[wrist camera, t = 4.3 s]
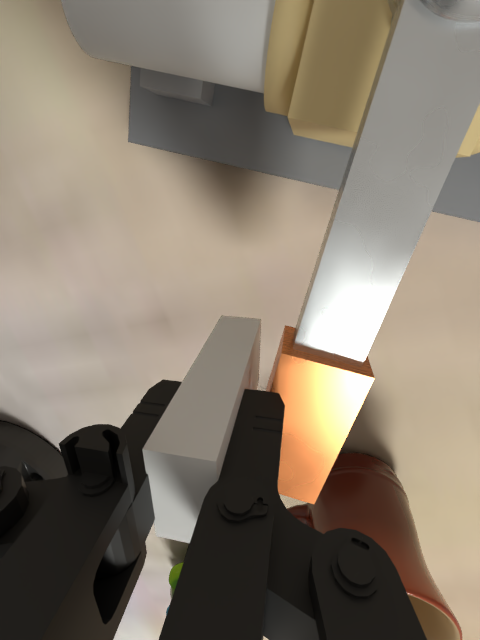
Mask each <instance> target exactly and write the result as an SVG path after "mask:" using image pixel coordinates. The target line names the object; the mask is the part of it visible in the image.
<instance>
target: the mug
mask: <svg viewBox="0 0 480 640" xmlns="http://www.w3.org/2000/svg"><path fill="white" fill-rule="evenodd" d="M287 510H288V511H289V512H290V513H291V514H292V515H293V516H294V517H295V518H297V519H298V520H300V521H301V522H303V523H304V524H306V525H308V526H310V527H312V528H313V529H315V530H317V531H319V532H321V533H323V534H324V533H326V532H327V531H330V530H333V529H337V528H346V529H353V530H357V531H359V532H361V533H363V534H365V535H367V536H369V537H371V538H372V539H373V540H374V541H375V542H376V543H378V544H379V545H380V546H381V547H382V548H383V549H384V550H385V551H386V552H387V554H388V556H389V557H390V559H391V561H392V562H393V564H394V565H395V567H396V569H397V571H398V573H399V576H400V578H401V580H402V583H403V585H404V587H405V590H406V592H407V594H408V596H409V599H410V601H411V603H412V606H413V608H414V610H415V613H416V615H417V617H418V620H419V622H420V624H421V626H422V629H423V631H424V633H425V636H426V638H427V640H462V631H461V627H460V625H459V623H458V621H457V619H456V617H455V616H454V614H453V612H452V611H451V609H450V608H449V606H448V604H447V603H446V601H445V599H444V598H443V596H442V594H441V593H440V591H439V589H438V587H437V586H436V584H435V582H434V580H433V578H432V576H431V574H430V572H429V570H428V568H427V565H426V563H425V560H424V557H423V554H422V551H421V547H420V543H419V539H418V535H417V531H416V527H415V524H414V520H413V517H412V514H411V510H410V507H409V501H408V498H407V495H406V493H405V492H404V490H403V487H402V484H401V482H400V481H399V479H398V478H397V476H396V474H395V473H394V471H393V470H392V469H391V468H390V467H389V466H388V465H387V464H386V463H384V462H383V461H381V460H379V459H377V458H375V457H373V456H370V455H366V454H362V453H340V454H338V456H337V458H336V460H335V462H334V464H333V466H332V468H331V471H330V473H329V475H328V477H327V479H326V481H325V483H324V485H323V487H322V489H321V491H320V494H319V496H318V498H317V500H316V502H315V504H311V503H308V502H307V503H306V504H303V505H296V506H293V507H290V508H288V509H287Z"/></svg>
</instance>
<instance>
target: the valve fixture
mask: <svg viewBox="0 0 480 640" xmlns="http://www.w3.org/2000/svg"><path fill="white" fill-rule="evenodd" d="M61 2H62V6H63V10H64V13H65V16H66V19H67V22H68V25H69V27H70V29H71V31H72V34H73V36H74V37H75V39H76V41H77V42H78V44H79V45H80V47H81V48H82V49H83V50H84V51H85V52H86V53H87V54H88V55H89V56H91V57H93V58H97V59H101V60H106V61H111V62H116V63H121V64H125V65H130V66H131V87H130V112H129V137H128V142H131V143H135V144H140V145H144V146H148V147H153V148H157V149H162V150H166V151H170V152H175V153H179V154H183V155H188V156H192V157H197V158H201V159H205V160H210V161H214V162H218V163H223V164H227V165H232V166H236V167H240V168H245V169H249V170H254V171H258V172H262V173H267V174H271V175H275V176H280V177H284V178H289V179H293V180H297V181H302V182H306V183H310V184H315V185H319V186H324V187H328V188H332V189H337V190H339V189H340V185H341V182H342V179H343V176H344V173H345V170H346V166H347V163H348V160H349V157H350V154H351V151H352V147H353V144H354V141H355V138H356V135H357V132H358V128H359V125H360V122H361V119H362V116H363V113H364V109H365V106H366V103H367V100H368V97H369V94H370V90H371V87H372V84H373V81H374V78H375V75H376V71H377V68H378V65H379V62H380V59H381V56H382V52H383V49H384V46H385V43H386V40H387V37H388V33H389V30H390V27H391V24H392V21H393V18H394V17H393V14H392V12H391V10H390V7H389V4H388V0H61ZM432 211H433V212H437V213H442V214H446V215H450V216H455V217H459V218H464V219H468V220H472V221H477V222H480V104H479V106H478V108H477V111H476V113H475V115H474V117H473V120H472V122H471V124H470V126H469V128H468V131H467V133H466V135H465V137H464V140H463V142H462V144H461V146H460V149H459V151H458V153H457V155H456V157H455V160H454V162H453V164H452V166H451V169H450V171H449V173H448V175H447V178H446V180H445V182H444V184H443V187H442V189H441V191H440V193H439V195H438V198H437V200H436V202H435V204H434V207H433V209H432Z"/></svg>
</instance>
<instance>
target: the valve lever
mask: <svg viewBox="0 0 480 640" xmlns="http://www.w3.org/2000/svg"><path fill="white" fill-rule="evenodd" d="M388 4H389V7H390V10H391V12H392V14H393V17H394V18H393V21H392V24H391V27H390V30H389V33H388V37H387V40H386V43H385V46H384V49H383V52H382V56H381V59H380V62H379V65H378V68H377V71H376V75H375V78H374V81H373V84H372V87H371V90H370V94H369V97H368V100H367V103H366V106H365V109H364V113H363V116H362V119H361V122H360V125H359V128H358V132H357V135H356V138H355V141H354V144H353V147H352V151H351V154H350V157H349V160H348V163H347V166H346V170H345V173H344V176H343V179H342V182H341V185H340V189H339V192H338V195H337V198H336V201H335V204H334V208H333V211H332V214H331V217H330V220H329V223H328V227H327V230H326V233H325V236H324V239H323V242H322V246H321V249H320V252H319V255H318V258H317V261H316V265H315V268H314V271H313V274H312V277H311V280H310V284H309V287H308V290H307V293H306V296H305V299H304V303H303V306H302V309H301V312H300V315H299V318H298V322H297V325H296V328H293V327H289V326H285V328H284V331H283V335H282V338H281V341H280V345H279V348H278V351H277V355H276V358H275V362H274V365H273V368H272V372H271V375H270V378H269V382H268V385H267V388H266V391H268V392H276V393H279V394H280V396H281V398H282V400H283V402H284V405H285V411H284V423H283V435H282V447H281V457H280V467H279V478H278V492H279V494H282V495H285V496H288V497H292V498H295V499H298V500H301V501H305V502H308V503H311V504H315V502H316V500H317V498H318V496H319V494H320V491H321V489H322V487H323V485H324V483H325V481H326V479H327V477H328V475H329V473H330V471H331V468H332V466H333V464H334V462H335V460H336V458H337V456H338V454H339V452H340V450H341V448H342V445H343V443H344V441H345V439H346V437H347V435H348V433H349V431H350V429H351V427H352V425H353V423H354V420H355V418H356V416H357V414H358V412H359V410H360V408H361V406H362V404H363V402H364V400H365V397H366V395H367V393H368V391H369V389H370V387H371V385H372V383H373V381H374V379H375V378H374V375H373V372H372V369H371V366H370V363H369V360H368V357H367V354H368V352H369V349H370V347H371V345H372V343H373V341H374V338H375V336H376V334H377V332H378V329H379V327H380V325H381V323H382V320H383V318H384V316H385V314H386V312H387V309H388V307H389V305H390V303H391V300H392V298H393V296H394V294H395V291H396V289H397V287H398V285H399V283H400V280H401V278H402V276H403V274H404V271H405V269H406V267H407V265H408V262H409V260H410V258H411V256H412V253H413V251H414V249H415V247H416V245H417V242H418V240H419V238H420V236H421V233H422V231H423V229H424V227H425V224H426V222H427V220H428V218H429V216H430V213H431V211H432V209H433V207H434V204H435V202H436V200H437V198H438V195H439V193H440V191H441V189H442V187H443V184H444V182H445V180H446V178H447V175H448V173H449V171H450V169H451V166H452V164H453V162H454V160H455V157H456V155H457V153H458V151H459V149H460V146H461V144H462V142H463V140H464V137H465V135H466V133H467V131H468V128H469V126H470V124H471V122H472V120H473V117H474V115H475V113H476V111H477V108H478V106H479V104H480V0H388Z"/></svg>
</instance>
